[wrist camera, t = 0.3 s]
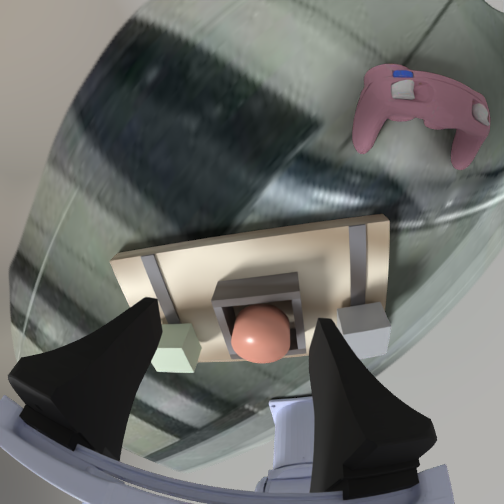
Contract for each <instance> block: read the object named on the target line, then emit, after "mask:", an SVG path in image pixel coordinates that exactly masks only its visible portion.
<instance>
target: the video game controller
mask: <svg viewBox="0 0 504 504" xmlns="http://www.w3.org/2000/svg"><path fill="white" fill-rule="evenodd" d="M415 117H416V118H420V119H423V120H424V124H425V126H427V127H428V128H431V129H436V130H439V129H446V128H456V134H455V137H454V140H453V144H452V149H451V163H452V165H453V167H454V168H455V169H457V170H463V169H465V168H467V167H468V166H469V165H470V164H471V162H472V161H473V159H474V158H475V156H476V154H477V152H478V150H479V148H480V147H481V145H482V143H483V142H484V140H485V139H486V137H487V136H488V134H489V132H490V113H489V109H488V105H487V102H486V99H485V98H484V96H483V95H482V94H480V93H479V92H476V91H474V90H472V89H471V88H469V87H468V86H466V85H464V84H462V83H460V82H458V81H456V80H454V79H451V78H448V77H445V76H442V75H438V74H434V73H429V72H424V71H414V70H410V69H409V68H407V67H405V66H402V65H398V64H382V65H378V66H375V67H373V68H371V69H370V70H369V71H368V72H367V73H366V74H365V76H364V88H363V90H362V92H361V95H360V98H359V101H358V104H357V108H356V112H355V116H354V122H353V132H352V140H353V144H354V147H355V149H356V150H357V152H358V153H360V154H365V153H367V152H368V151H369V150H370V149H371V148H372V147H373V145H374V142H375V140H376V138H377V136H378V133H379V131H380V129H381V128H382V126H383V124H384V122H385V121H386V119H387V118H388V119H390V120H392V121H409V120H411V119H413V118H415Z"/></svg>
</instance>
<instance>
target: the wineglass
mask: <svg viewBox="0 0 504 504" xmlns="http://www.w3.org/2000/svg"><path fill="white" fill-rule="evenodd" d="M484 1H485V2H486V3H487V4H488V5H490V6H491V7H492V8H494V9H496V10H497V11H499V12H502V13H504V0H484Z"/></svg>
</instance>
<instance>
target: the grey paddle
mask: <svg viewBox="0 0 504 504" xmlns="http://www.w3.org/2000/svg"><path fill="white" fill-rule="evenodd" d="M337 328H338V329H339V331H340V332H341V334H342V335H343V337H344V339H345V340H346V341H347V343H348V344H349V346H350V347H351V349H352V350H353V351H354V353H355V354H356V356H357V357H358V358H359V359H365V358H370V357H375V356H380V355H385V354H387V349H388V343H389V338H390V332H391V324H390V322H389V320H388V318H387V315H386V313H385V311H384V309H383V307H382V304H381V302H375V303H370V304H364V305H358V306H351V307H345V308H338V309H337Z"/></svg>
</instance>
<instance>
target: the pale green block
mask: <svg viewBox="0 0 504 504" xmlns="http://www.w3.org/2000/svg"><path fill="white" fill-rule="evenodd" d="M162 330H163V333H162V336H161V339H160V342H159V345H158V348H157V350H156V352H155V354H154V357H153V359H152V361H151V363H152V364H153V366H154V367H155V369H156V371H158V372H182V373H194V371H195V368H196V365H197V362H198V358H199V355H200V352H201V349H202V347H201V345H200V343H199V340H198V338H197V336H196V333H195V331H194V328H193V326H192V324H191V323H185V324H162Z"/></svg>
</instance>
